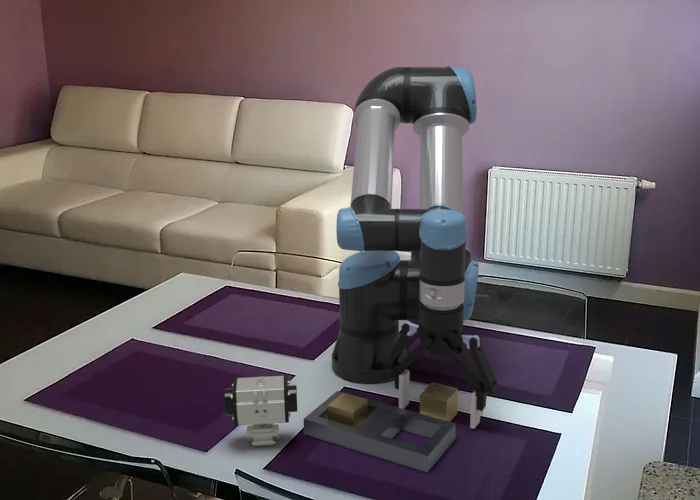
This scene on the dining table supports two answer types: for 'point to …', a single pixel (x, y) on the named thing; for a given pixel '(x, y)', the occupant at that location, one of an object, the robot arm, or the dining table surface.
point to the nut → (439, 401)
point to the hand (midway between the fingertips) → (438, 415)
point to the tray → (385, 433)
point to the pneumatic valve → (261, 406)
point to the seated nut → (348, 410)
